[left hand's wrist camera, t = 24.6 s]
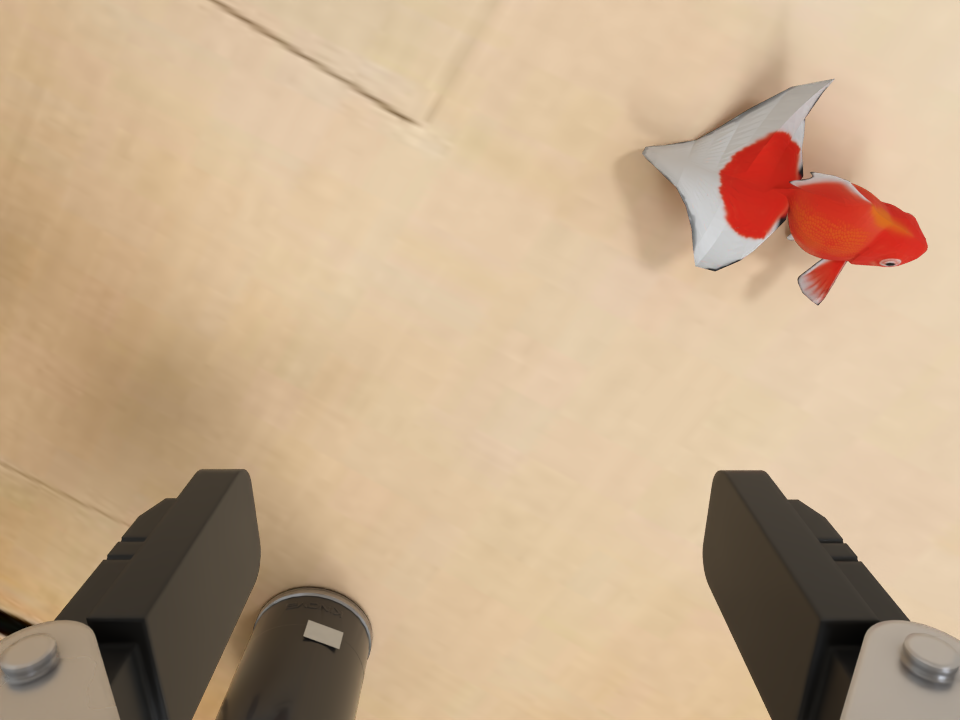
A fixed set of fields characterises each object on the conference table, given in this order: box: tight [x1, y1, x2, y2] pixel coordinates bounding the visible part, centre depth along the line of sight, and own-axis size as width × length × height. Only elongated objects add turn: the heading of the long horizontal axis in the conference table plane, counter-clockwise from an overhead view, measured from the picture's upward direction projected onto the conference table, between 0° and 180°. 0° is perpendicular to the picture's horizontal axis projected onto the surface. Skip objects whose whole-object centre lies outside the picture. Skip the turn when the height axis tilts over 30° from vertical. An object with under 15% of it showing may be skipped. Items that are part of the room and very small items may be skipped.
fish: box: [642, 79, 928, 305], centre depth 38 cm, size 11×16×10 cm
